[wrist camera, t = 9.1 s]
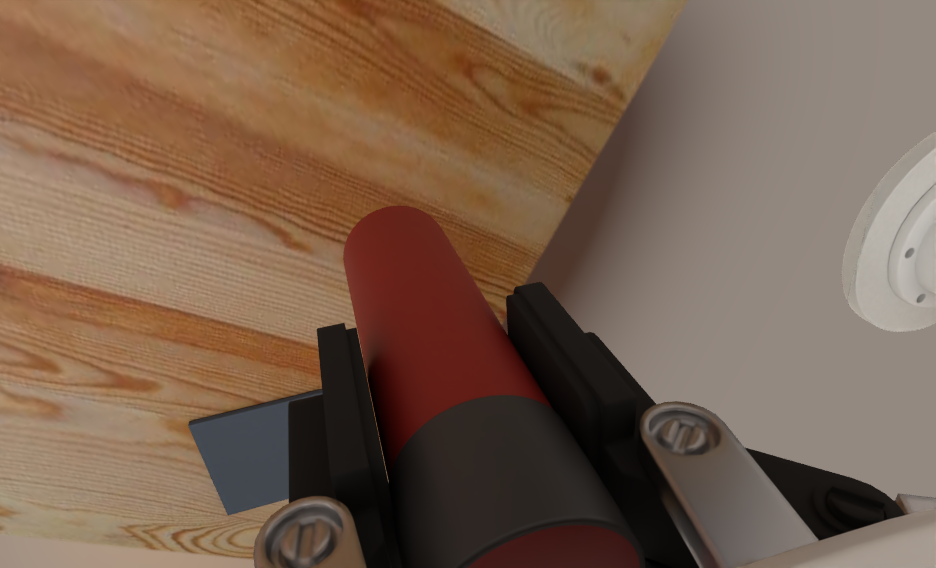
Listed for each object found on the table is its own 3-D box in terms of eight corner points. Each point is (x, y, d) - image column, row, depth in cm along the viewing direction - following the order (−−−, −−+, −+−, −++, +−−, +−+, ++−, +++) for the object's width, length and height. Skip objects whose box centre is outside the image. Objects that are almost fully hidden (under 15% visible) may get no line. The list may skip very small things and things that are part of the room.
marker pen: (443, 195, 16) (656, 489, 7) (453, 290, 18) (639, 639, 8) (331, 214, 16) (401, 565, 6) (351, 311, 17) (432, 711, 8)
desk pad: (322, 388, 37) (322, 392, 36) (347, 478, 41) (347, 482, 40) (188, 421, 35) (187, 425, 35) (228, 511, 39) (227, 515, 39)
